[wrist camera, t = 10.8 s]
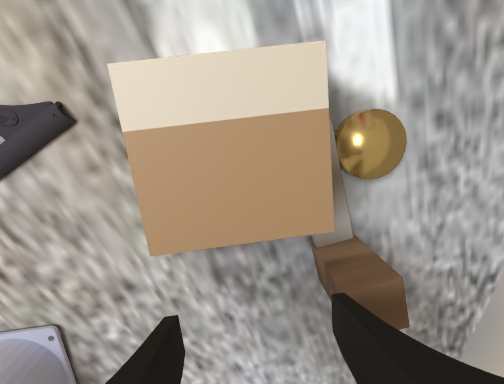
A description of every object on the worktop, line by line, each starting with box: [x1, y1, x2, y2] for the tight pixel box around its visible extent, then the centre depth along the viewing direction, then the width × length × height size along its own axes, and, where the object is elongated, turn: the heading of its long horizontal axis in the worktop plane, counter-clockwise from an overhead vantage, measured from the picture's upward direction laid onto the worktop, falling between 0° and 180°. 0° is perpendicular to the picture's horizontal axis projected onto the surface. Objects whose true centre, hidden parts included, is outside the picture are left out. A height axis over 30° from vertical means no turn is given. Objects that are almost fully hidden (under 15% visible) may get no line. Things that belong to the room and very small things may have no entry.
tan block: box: [107, 40, 334, 256], centre depth 17 cm, size 10×10×7 cm
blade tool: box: [311, 120, 409, 330], centre depth 18 cm, size 13×4×7 cm, turn 15°
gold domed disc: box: [334, 109, 406, 179], centre depth 20 cm, size 5×5×2 cm
